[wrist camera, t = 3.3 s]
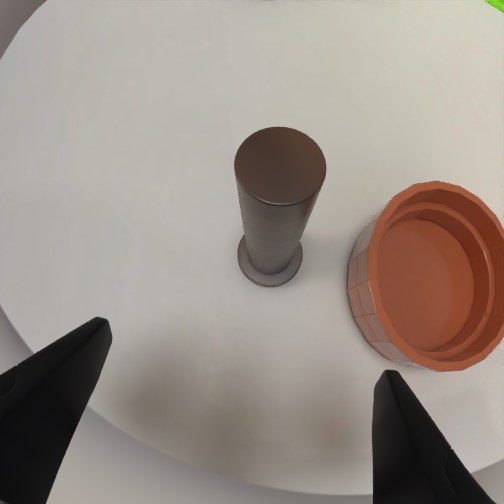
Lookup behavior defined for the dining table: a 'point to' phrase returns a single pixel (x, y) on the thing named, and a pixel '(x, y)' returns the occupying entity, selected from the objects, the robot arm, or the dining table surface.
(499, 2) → the wineglass
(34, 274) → the dining table surface
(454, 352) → the bowl
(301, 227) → the brown cylinder
